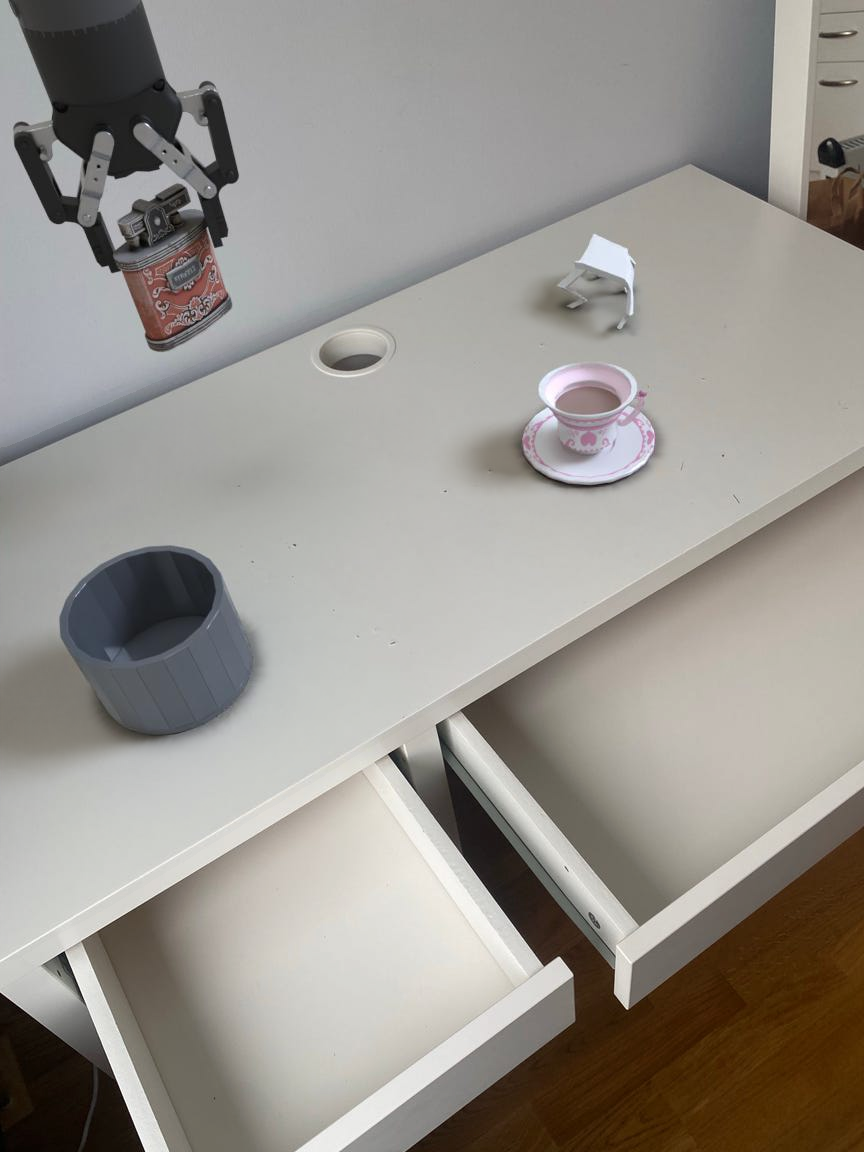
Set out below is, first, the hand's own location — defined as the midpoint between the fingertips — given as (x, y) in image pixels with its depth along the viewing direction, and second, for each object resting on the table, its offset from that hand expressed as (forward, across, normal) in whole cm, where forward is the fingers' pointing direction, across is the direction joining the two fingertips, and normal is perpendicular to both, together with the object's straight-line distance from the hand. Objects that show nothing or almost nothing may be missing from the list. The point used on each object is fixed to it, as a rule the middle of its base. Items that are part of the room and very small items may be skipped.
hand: (166, 254), depth 72 cm
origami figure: (+22, -41, -12) cm, 48 cm away
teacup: (+22, -30, +8) cm, 38 cm away
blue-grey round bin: (+22, +9, +21) cm, 31 cm away
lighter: (+6, 0, 0) cm, 6 cm away
